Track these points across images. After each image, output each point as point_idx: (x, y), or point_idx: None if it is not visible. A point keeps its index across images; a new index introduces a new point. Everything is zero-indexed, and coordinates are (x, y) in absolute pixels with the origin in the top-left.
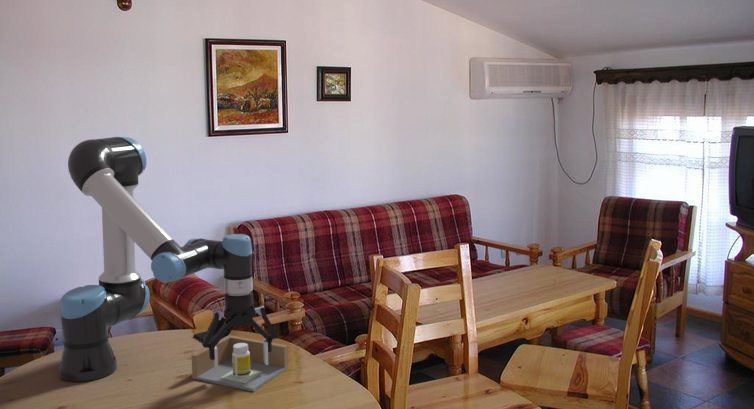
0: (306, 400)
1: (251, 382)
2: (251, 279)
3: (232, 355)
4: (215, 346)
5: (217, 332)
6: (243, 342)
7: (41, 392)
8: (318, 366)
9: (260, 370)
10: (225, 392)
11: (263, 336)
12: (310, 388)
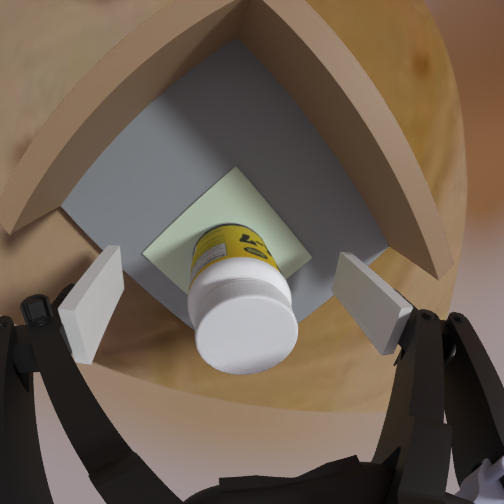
0: (331, 406)
1: None
2: None
3: (188, 309)
4: (73, 326)
5: (50, 396)
6: (317, 69)
7: None
8: None
9: (311, 237)
10: (154, 336)
11: (395, 380)
12: (370, 365)
